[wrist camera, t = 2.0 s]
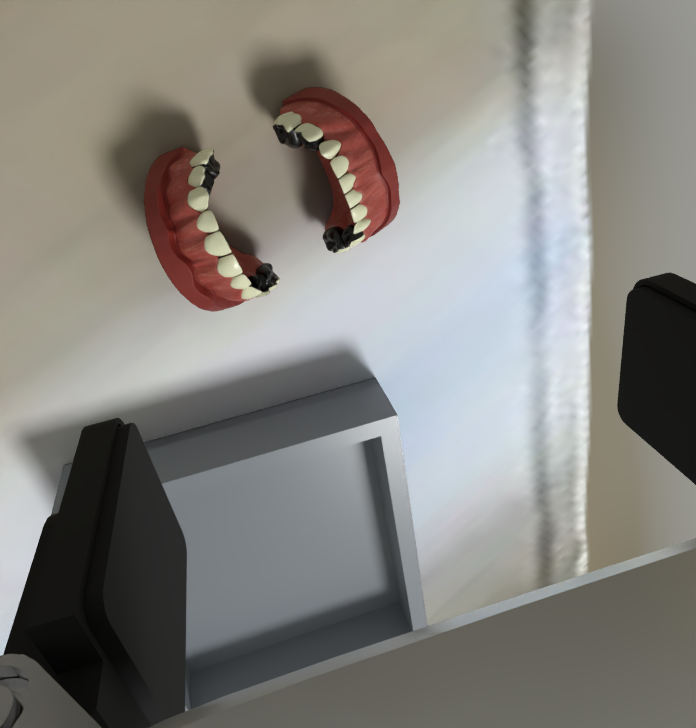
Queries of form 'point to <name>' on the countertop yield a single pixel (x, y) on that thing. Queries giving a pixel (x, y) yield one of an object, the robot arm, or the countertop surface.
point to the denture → (198, 170)
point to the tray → (290, 537)
